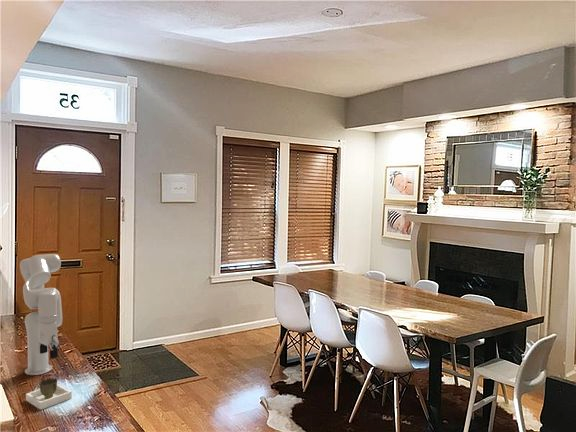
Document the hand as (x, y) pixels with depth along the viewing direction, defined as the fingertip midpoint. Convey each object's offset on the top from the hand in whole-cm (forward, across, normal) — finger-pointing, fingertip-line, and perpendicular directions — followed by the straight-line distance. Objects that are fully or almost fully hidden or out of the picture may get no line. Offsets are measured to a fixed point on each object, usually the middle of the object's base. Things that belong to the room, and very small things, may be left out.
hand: (48, 355), depth 211 cm
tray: (+20, +1, -1) cm, 20 cm away
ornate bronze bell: (+20, 0, -1) cm, 20 cm away
